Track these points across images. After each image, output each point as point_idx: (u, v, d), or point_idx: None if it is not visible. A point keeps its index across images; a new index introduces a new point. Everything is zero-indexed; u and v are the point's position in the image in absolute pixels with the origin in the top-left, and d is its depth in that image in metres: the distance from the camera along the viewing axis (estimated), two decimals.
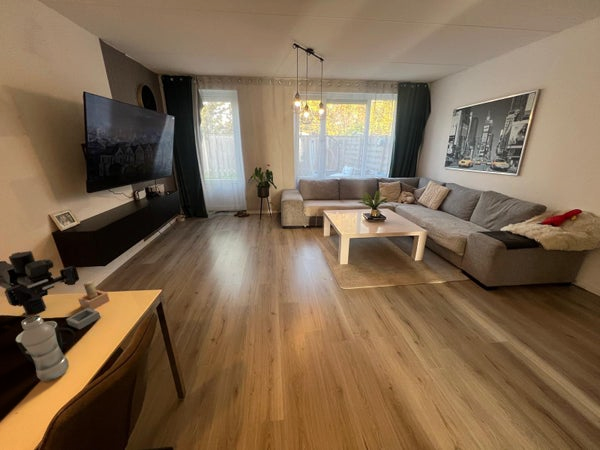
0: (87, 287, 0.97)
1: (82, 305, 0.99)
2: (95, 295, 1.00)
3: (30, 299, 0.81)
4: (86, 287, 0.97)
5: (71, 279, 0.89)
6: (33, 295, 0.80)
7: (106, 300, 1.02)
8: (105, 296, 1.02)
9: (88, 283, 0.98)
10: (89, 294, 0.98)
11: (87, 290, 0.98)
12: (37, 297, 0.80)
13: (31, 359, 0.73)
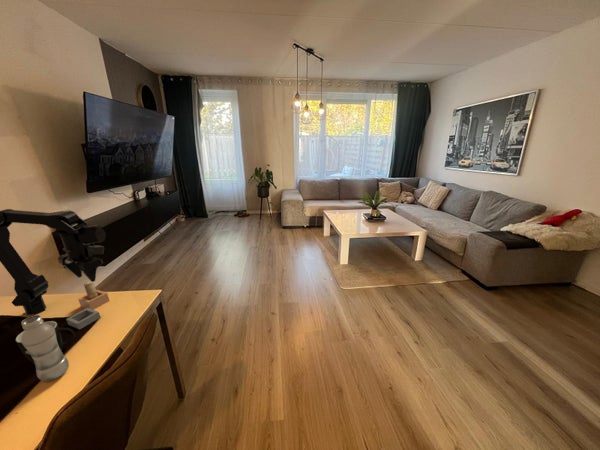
0: (87, 287, 0.97)
1: (82, 305, 0.99)
2: (95, 295, 1.00)
3: (88, 274, 0.93)
4: (86, 287, 0.97)
5: None
6: (94, 275, 0.95)
7: (106, 300, 1.02)
8: (105, 296, 1.02)
9: (88, 283, 0.98)
10: (89, 294, 0.98)
11: (87, 290, 0.98)
12: (92, 279, 0.95)
13: (31, 359, 0.73)
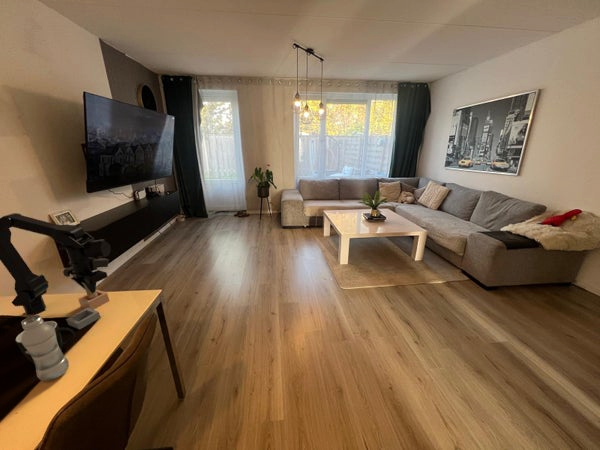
0: None
1: (82, 305, 0.99)
2: (95, 295, 1.00)
3: (89, 286, 0.96)
4: None
5: None
6: (94, 287, 0.98)
7: (106, 300, 1.02)
8: (105, 296, 1.02)
9: None
10: (89, 294, 0.98)
11: (87, 290, 0.98)
12: (92, 290, 0.98)
13: (31, 359, 0.73)
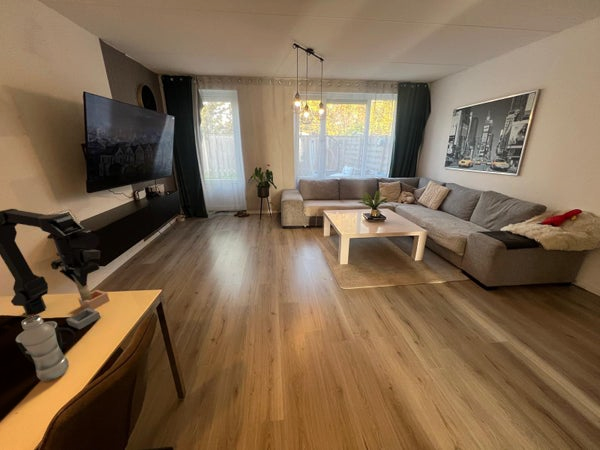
0: None
1: (82, 305, 0.99)
2: (86, 289, 0.93)
3: (79, 279, 0.89)
4: None
5: None
6: (85, 280, 0.92)
7: (106, 300, 1.02)
8: (105, 296, 1.02)
9: None
10: (80, 288, 0.92)
11: (77, 283, 0.91)
12: (83, 283, 0.92)
13: (31, 359, 0.73)
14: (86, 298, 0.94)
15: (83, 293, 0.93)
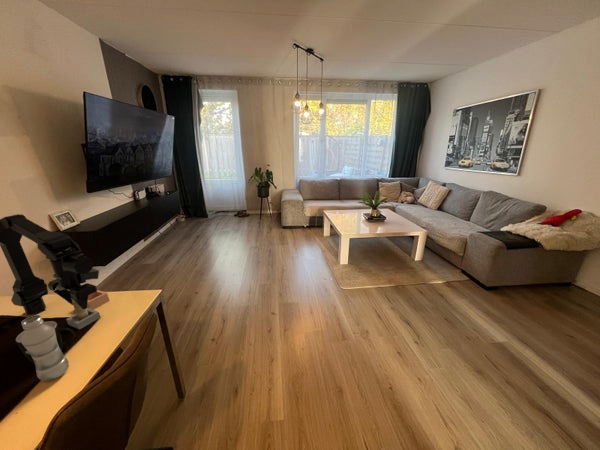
0: (76, 304, 0.88)
1: None
2: (85, 312, 0.90)
3: (79, 302, 0.85)
4: (74, 304, 0.88)
5: None
6: (85, 303, 0.88)
7: (106, 300, 1.02)
8: (105, 296, 1.02)
9: None
10: (78, 312, 0.89)
11: (76, 307, 0.88)
12: (83, 306, 0.87)
13: (31, 359, 0.73)
14: None
15: (81, 317, 0.90)
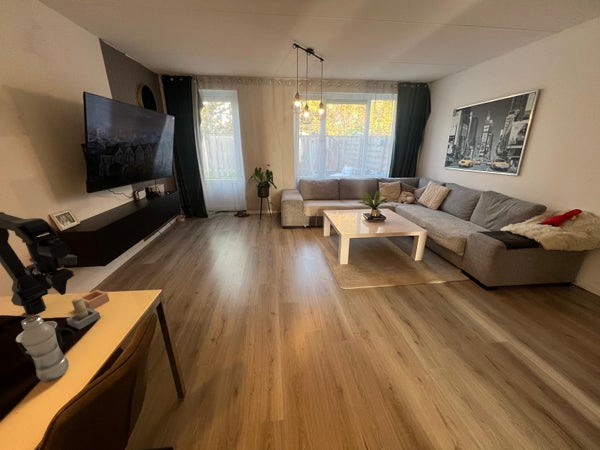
0: (76, 305, 0.88)
1: None
2: (85, 312, 0.90)
3: (57, 287, 0.86)
4: (74, 304, 0.88)
5: None
6: (64, 288, 0.88)
7: (106, 300, 1.02)
8: (105, 296, 1.02)
9: (77, 299, 0.89)
10: (78, 312, 0.89)
11: (75, 307, 0.88)
12: (62, 292, 0.88)
13: (31, 359, 0.73)
14: None
15: (81, 317, 0.90)
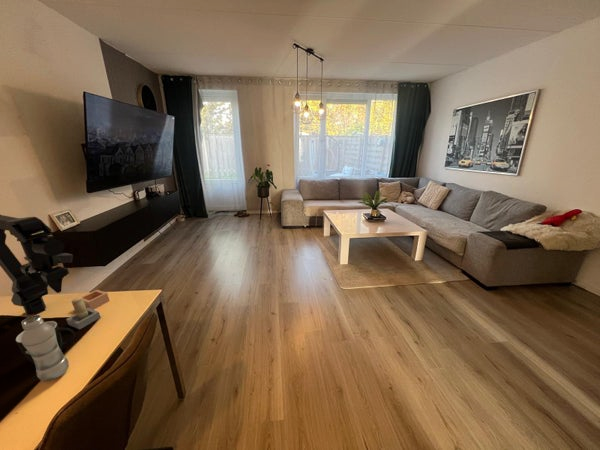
0: (76, 305, 0.88)
1: None
2: (85, 312, 0.90)
3: (52, 285, 0.86)
4: (74, 304, 0.88)
5: None
6: (59, 286, 0.88)
7: (106, 300, 1.02)
8: (105, 296, 1.02)
9: (77, 300, 0.88)
10: (78, 312, 0.89)
11: (75, 307, 0.88)
12: (57, 290, 0.88)
13: (31, 359, 0.73)
14: None
15: (81, 317, 0.90)
